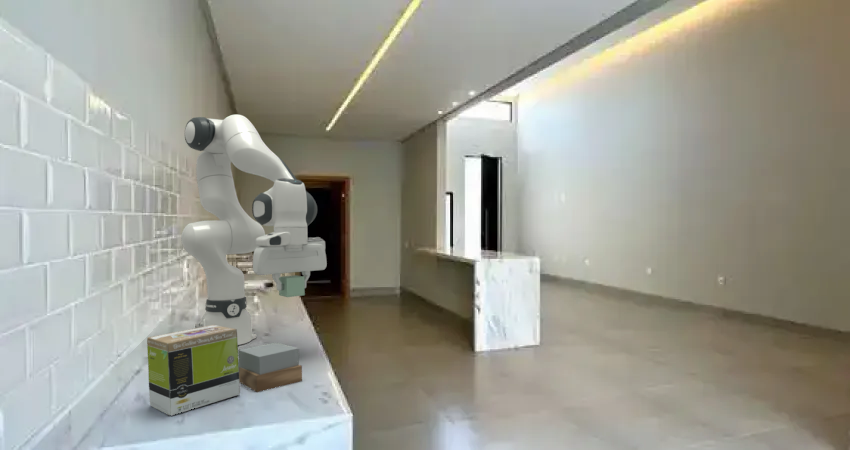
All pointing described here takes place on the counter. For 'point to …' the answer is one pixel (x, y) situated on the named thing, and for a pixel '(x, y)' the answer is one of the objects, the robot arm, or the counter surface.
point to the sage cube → (292, 286)
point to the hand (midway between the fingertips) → (291, 289)
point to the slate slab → (268, 358)
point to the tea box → (192, 368)
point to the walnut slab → (270, 378)
